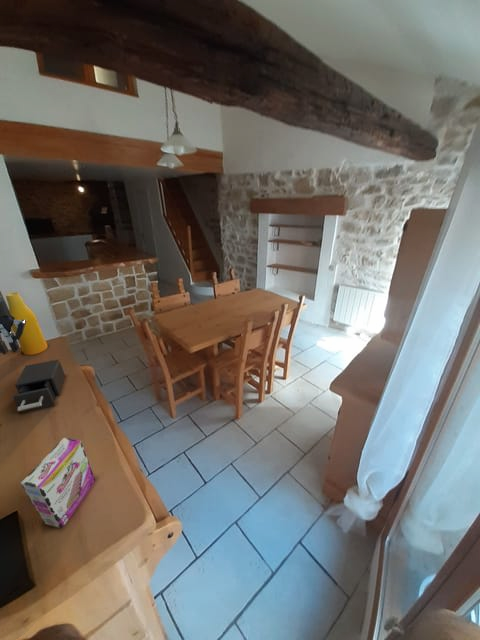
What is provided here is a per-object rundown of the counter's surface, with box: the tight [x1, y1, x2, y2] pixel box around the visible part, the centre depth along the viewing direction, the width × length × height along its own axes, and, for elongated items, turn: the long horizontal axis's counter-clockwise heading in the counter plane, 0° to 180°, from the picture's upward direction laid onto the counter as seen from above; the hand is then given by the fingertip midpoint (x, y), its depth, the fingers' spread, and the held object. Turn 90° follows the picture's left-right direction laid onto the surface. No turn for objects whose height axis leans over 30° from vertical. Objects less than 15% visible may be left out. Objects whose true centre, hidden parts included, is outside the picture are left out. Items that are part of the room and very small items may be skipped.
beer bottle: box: [5, 291, 48, 356], centre depth 112 cm, size 9×9×29 cm
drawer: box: [12, 380, 57, 415], centre depth 87 cm, size 15×9×8 cm, turn 23°
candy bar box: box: [20, 437, 96, 529], centre depth 58 cm, size 11×5×16 cm, turn 169°
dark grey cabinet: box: [14, 359, 66, 397], centre depth 93 cm, size 12×11×10 cm
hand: (10, 351), depth 79 cm, fingers closed
